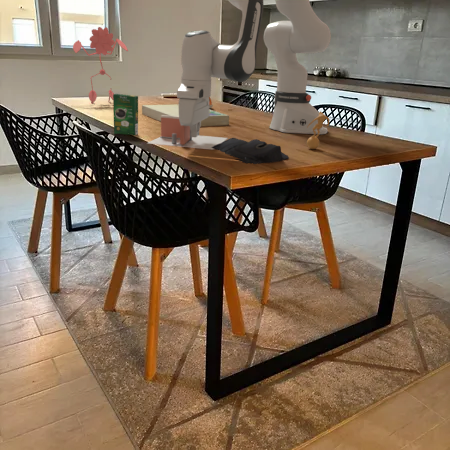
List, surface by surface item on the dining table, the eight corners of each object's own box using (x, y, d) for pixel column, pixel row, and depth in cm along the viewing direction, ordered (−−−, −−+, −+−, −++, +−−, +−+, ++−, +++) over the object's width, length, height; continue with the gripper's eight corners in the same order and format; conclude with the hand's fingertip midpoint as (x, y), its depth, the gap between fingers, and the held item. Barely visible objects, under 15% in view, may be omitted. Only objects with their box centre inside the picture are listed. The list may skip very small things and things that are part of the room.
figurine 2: (318, 147, 150) (322, 109, 145) (330, 150, 145) (335, 112, 140) (298, 148, 146) (302, 110, 141) (310, 152, 141) (314, 112, 136)
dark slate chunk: (245, 146, 147) (246, 131, 146) (293, 161, 131) (294, 144, 129) (205, 150, 139) (206, 135, 137) (251, 167, 122) (252, 149, 121)
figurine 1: (73, 102, 225) (69, 24, 212) (123, 101, 239) (121, 28, 226) (84, 107, 213) (80, 25, 200) (135, 105, 228) (135, 29, 214)
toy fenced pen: (227, 139, 154) (228, 129, 153) (213, 151, 136) (213, 139, 135) (168, 134, 158) (168, 123, 157) (146, 144, 140) (146, 133, 139)
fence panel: (184, 144, 139) (184, 122, 136) (180, 144, 139) (180, 121, 136) (189, 139, 147) (190, 118, 144) (186, 139, 147) (186, 117, 144)
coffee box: (139, 135, 154) (138, 95, 149) (135, 136, 151) (134, 95, 146) (117, 133, 156) (116, 93, 151) (113, 134, 153) (111, 94, 148)
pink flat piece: (192, 139, 149) (193, 117, 146) (190, 140, 147) (191, 118, 144) (162, 136, 151) (162, 114, 148) (160, 137, 149) (160, 115, 146)
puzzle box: (191, 114, 212) (141, 115, 201) (191, 103, 210) (141, 104, 199) (229, 127, 183) (173, 129, 172) (230, 115, 181) (173, 116, 170)
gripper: (195, 86, 146) (194, 130, 151) (174, 91, 127) (174, 141, 132) (215, 87, 145) (213, 131, 150) (196, 93, 126) (195, 143, 131)
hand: (195, 136), depth 141 cm, fingers closed
